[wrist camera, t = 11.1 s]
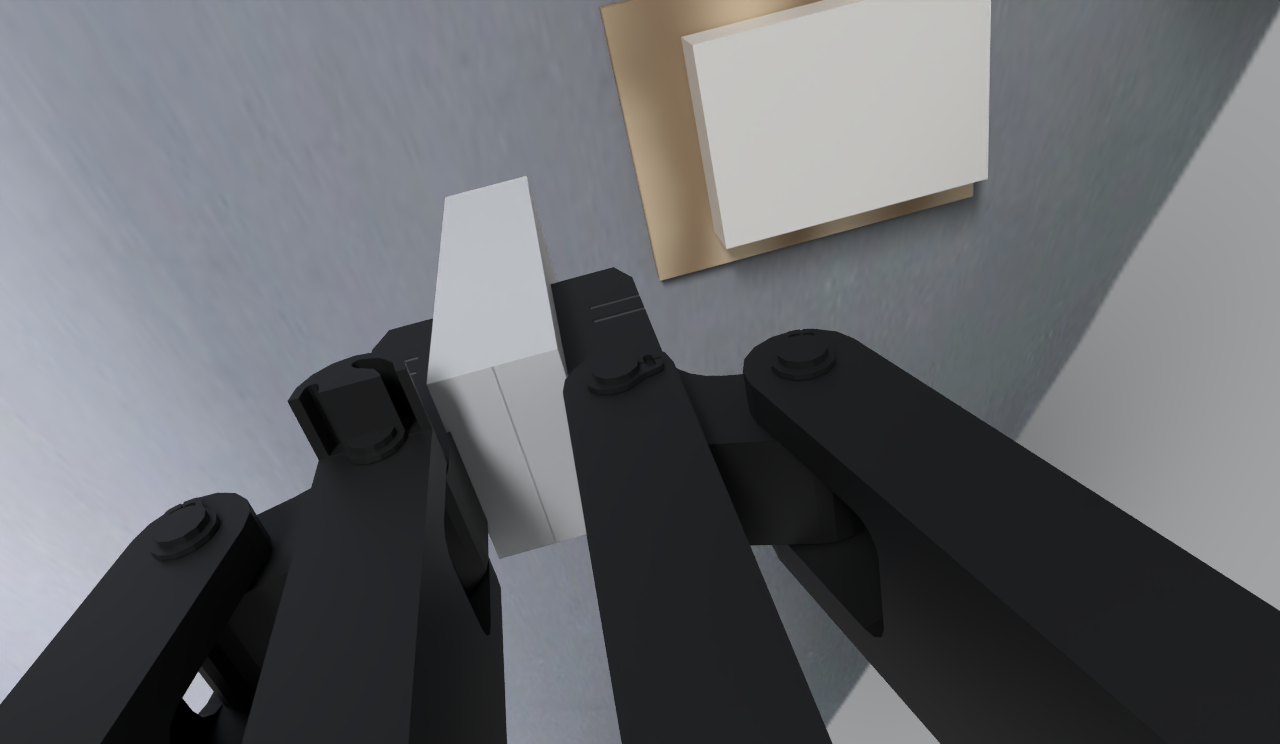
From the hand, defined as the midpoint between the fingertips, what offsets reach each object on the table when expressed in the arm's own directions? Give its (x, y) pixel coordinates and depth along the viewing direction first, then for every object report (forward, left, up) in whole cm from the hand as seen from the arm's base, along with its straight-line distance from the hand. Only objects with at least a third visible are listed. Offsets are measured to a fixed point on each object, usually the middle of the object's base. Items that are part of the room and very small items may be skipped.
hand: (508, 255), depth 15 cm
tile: (+8, +7, -24) cm, 27 cm away
